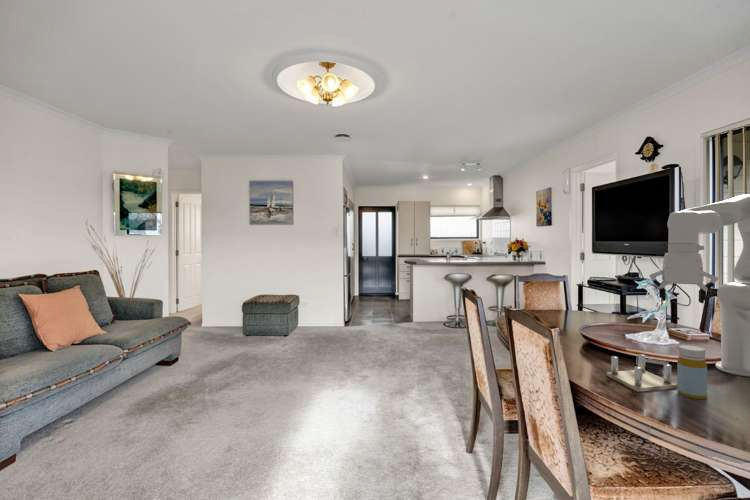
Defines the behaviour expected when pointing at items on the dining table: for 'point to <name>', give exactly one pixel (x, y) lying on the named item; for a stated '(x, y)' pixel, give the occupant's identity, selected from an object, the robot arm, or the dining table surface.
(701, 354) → the bottle
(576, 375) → the dining table surface
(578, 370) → the dining table surface
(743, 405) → the dining table surface
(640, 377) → the holder pins
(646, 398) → the dining table surface
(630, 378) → the holder base
